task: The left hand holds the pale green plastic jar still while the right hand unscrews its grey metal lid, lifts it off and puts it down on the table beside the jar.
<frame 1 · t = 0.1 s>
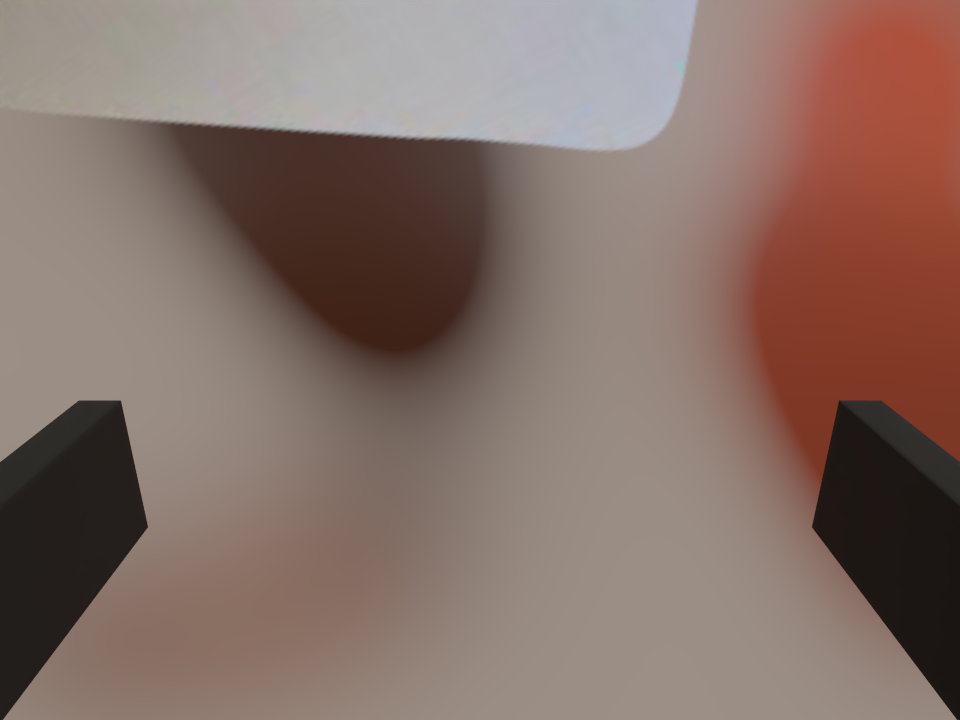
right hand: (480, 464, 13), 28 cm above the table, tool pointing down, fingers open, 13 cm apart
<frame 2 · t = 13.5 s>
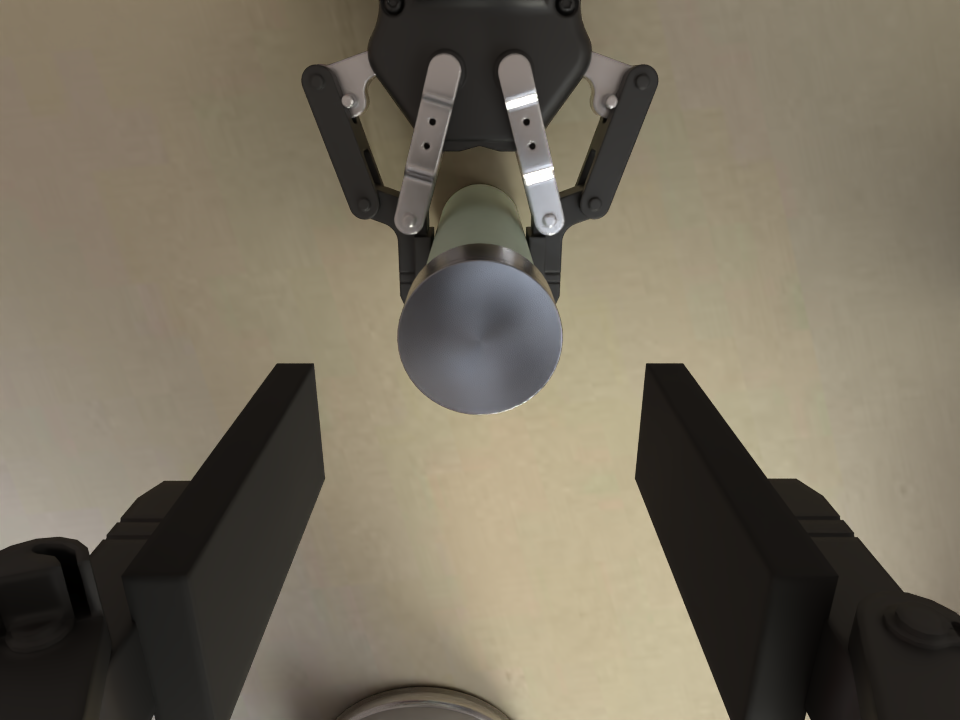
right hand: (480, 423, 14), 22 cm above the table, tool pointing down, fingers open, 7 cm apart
left hand: (479, 313, 30), fingers closed on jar, 4 cm apart
lid: (480, 336, 19), point 17 cm above the table, screwed on, not yet turned
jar: (480, 224, 35), on the table, touching left hand
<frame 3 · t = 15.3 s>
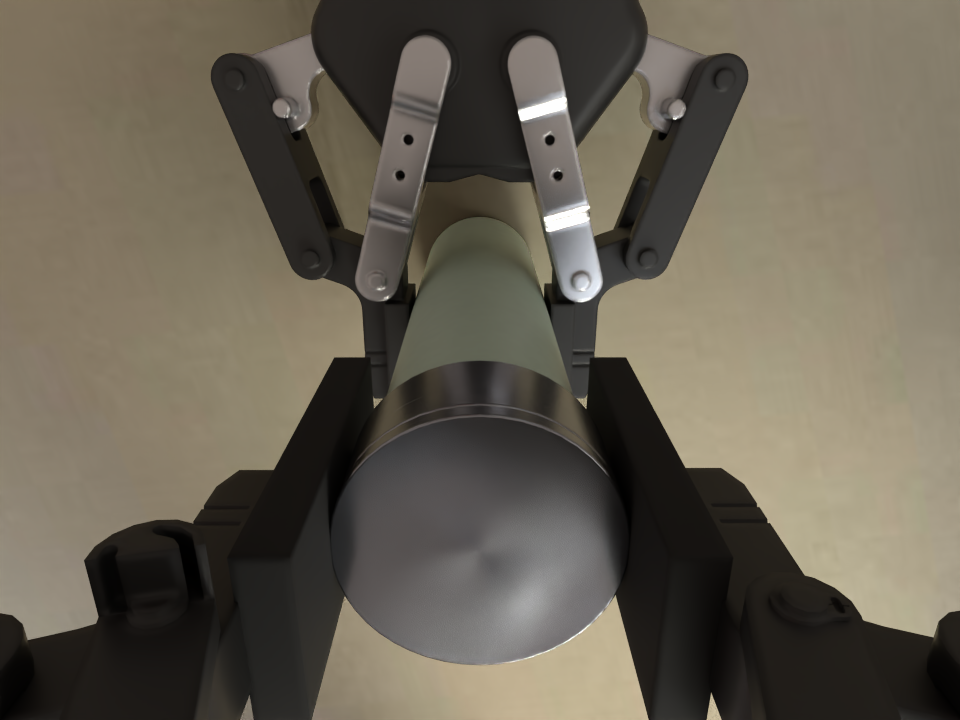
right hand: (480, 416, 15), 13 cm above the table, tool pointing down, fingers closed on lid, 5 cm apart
left hand: (478, 403, 22), fingers closed on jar, 4 cm apart
lid: (479, 536, 11), point 17 cm above the table, screwed on, not yet turned, touching right hand
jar: (479, 269, 26), on the table, touching left hand
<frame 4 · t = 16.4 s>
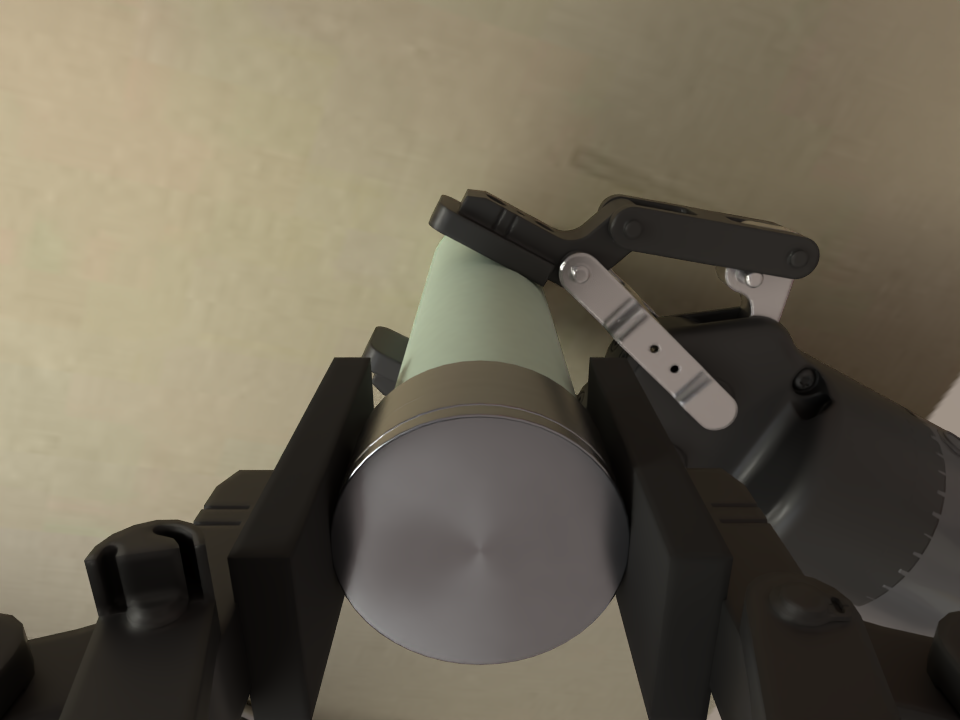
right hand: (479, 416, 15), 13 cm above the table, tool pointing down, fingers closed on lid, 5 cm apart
lid: (480, 536, 11), point 17 cm above the table, off its thread, touching right hand
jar: (483, 270, 27), on the table, touching left hand
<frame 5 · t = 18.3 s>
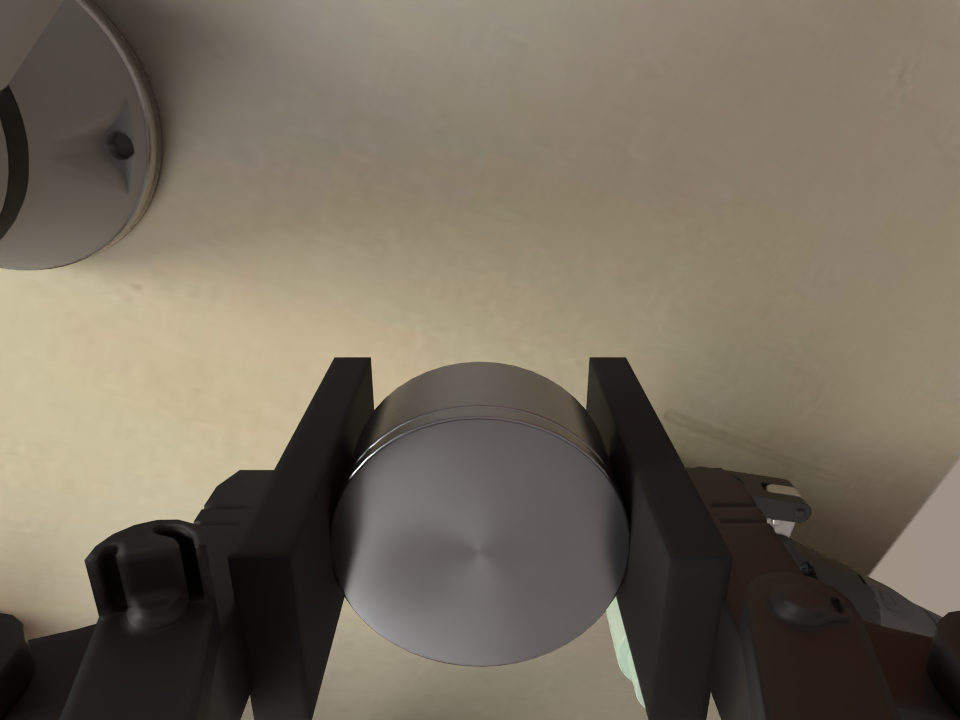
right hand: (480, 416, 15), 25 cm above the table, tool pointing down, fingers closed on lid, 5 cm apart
lid: (479, 538, 11), point 29 cm above the table, off its thread, touching right hand
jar: (607, 475, 44), on the table, touching left hand
when the right hand's fingers open (0 cm above the table, at t = 22.7 s): lid drops 3 cm, point 2 cm above the table.
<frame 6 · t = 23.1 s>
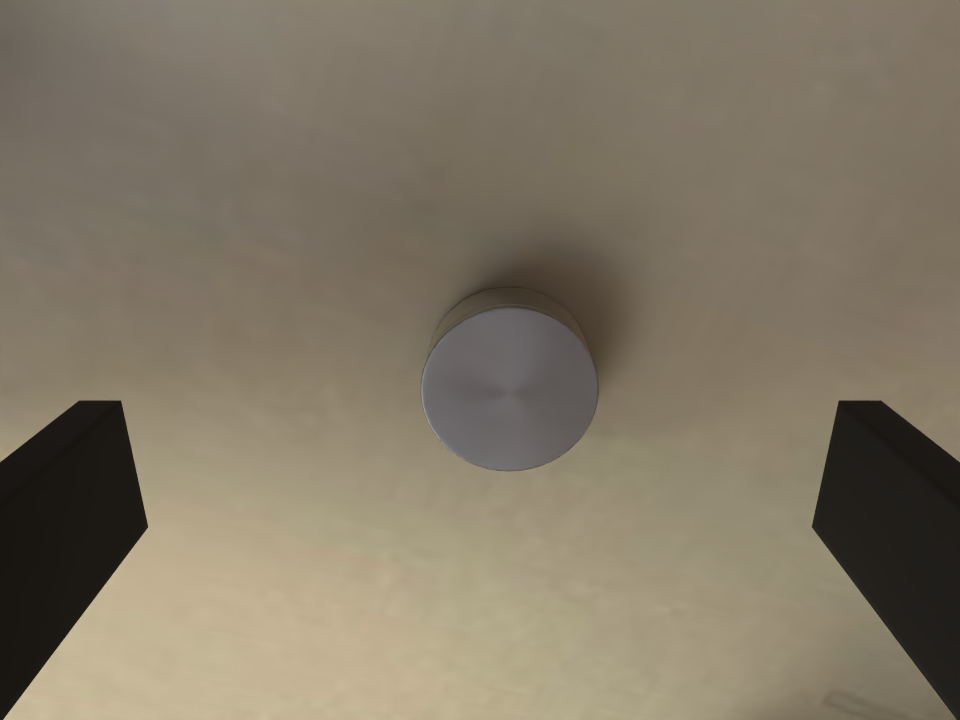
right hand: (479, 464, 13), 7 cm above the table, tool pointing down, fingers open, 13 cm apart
lid: (509, 388, 18), point 2 cm above the table, off its thread
when the left hand's fingers open (6 cm above the table, at t = 23.3 s): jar stays where it is, on the table.
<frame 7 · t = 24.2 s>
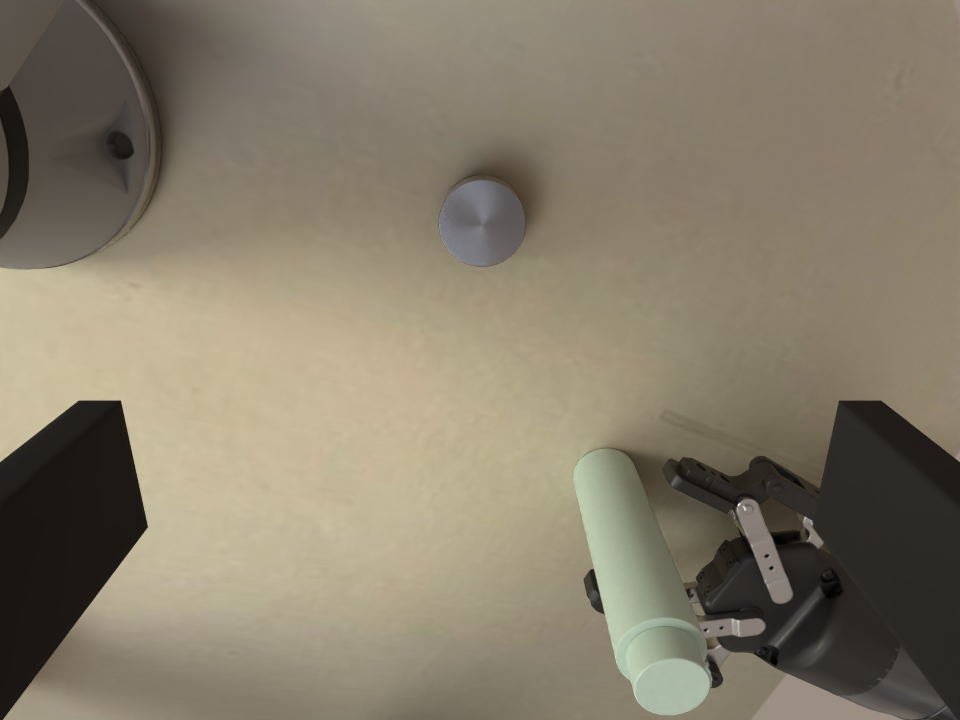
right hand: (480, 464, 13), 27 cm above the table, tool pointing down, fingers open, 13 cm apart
lid: (482, 223, 37), point 2 cm above the table, off its thread
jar: (604, 475, 44), on the table
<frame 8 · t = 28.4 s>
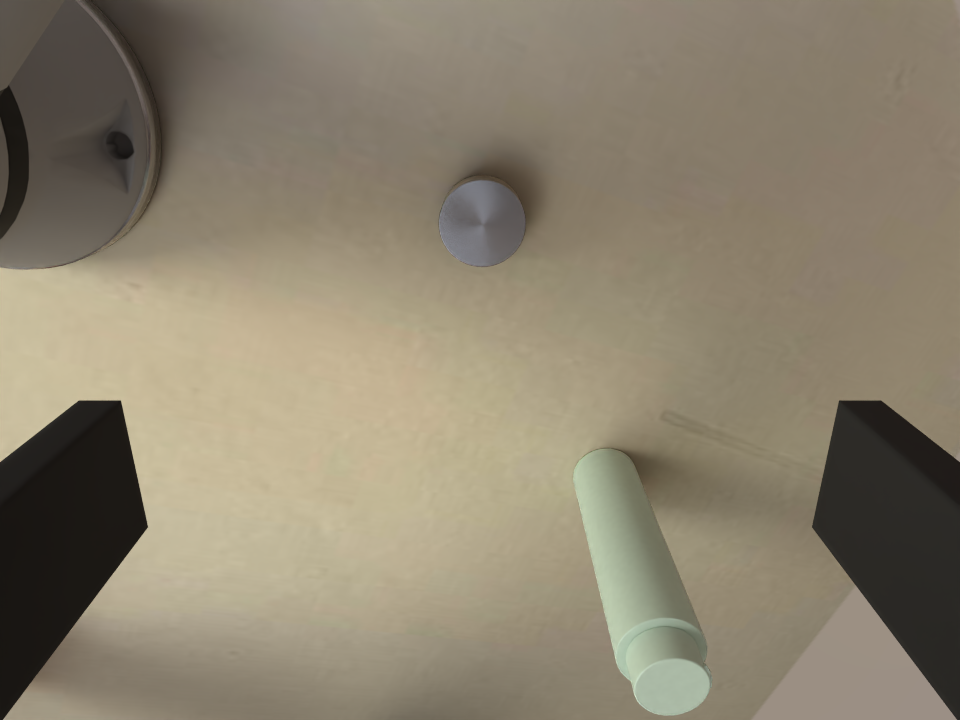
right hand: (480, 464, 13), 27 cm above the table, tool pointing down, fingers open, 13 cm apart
lid: (482, 223, 37), point 2 cm above the table, off its thread
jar: (604, 475, 44), on the table
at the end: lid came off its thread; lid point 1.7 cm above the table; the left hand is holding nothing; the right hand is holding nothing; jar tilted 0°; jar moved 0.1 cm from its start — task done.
